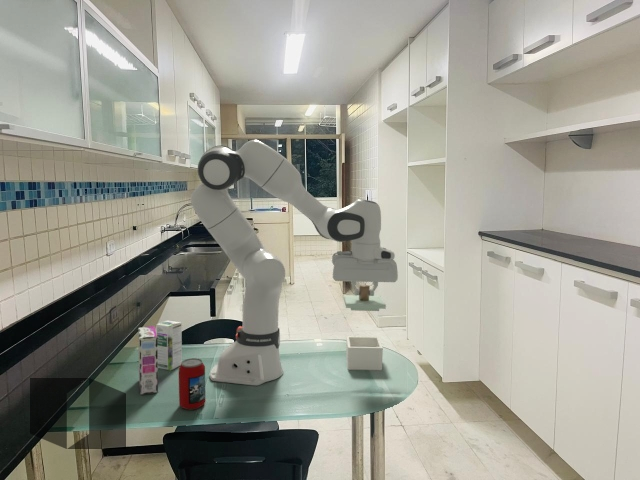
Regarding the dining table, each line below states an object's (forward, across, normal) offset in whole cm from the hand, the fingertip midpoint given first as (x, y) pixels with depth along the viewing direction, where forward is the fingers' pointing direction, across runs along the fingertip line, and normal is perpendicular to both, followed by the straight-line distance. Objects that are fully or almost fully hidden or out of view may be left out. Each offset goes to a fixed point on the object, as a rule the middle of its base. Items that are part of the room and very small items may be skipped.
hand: (364, 295), depth 143 cm
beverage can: (+26, -48, -24) cm, 59 cm away
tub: (+25, +1, +5) cm, 25 cm away
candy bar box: (+26, -63, -13) cm, 69 cm away
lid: (+4, 0, 0) cm, 4 cm away
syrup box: (+26, -62, +2) cm, 67 cm away
